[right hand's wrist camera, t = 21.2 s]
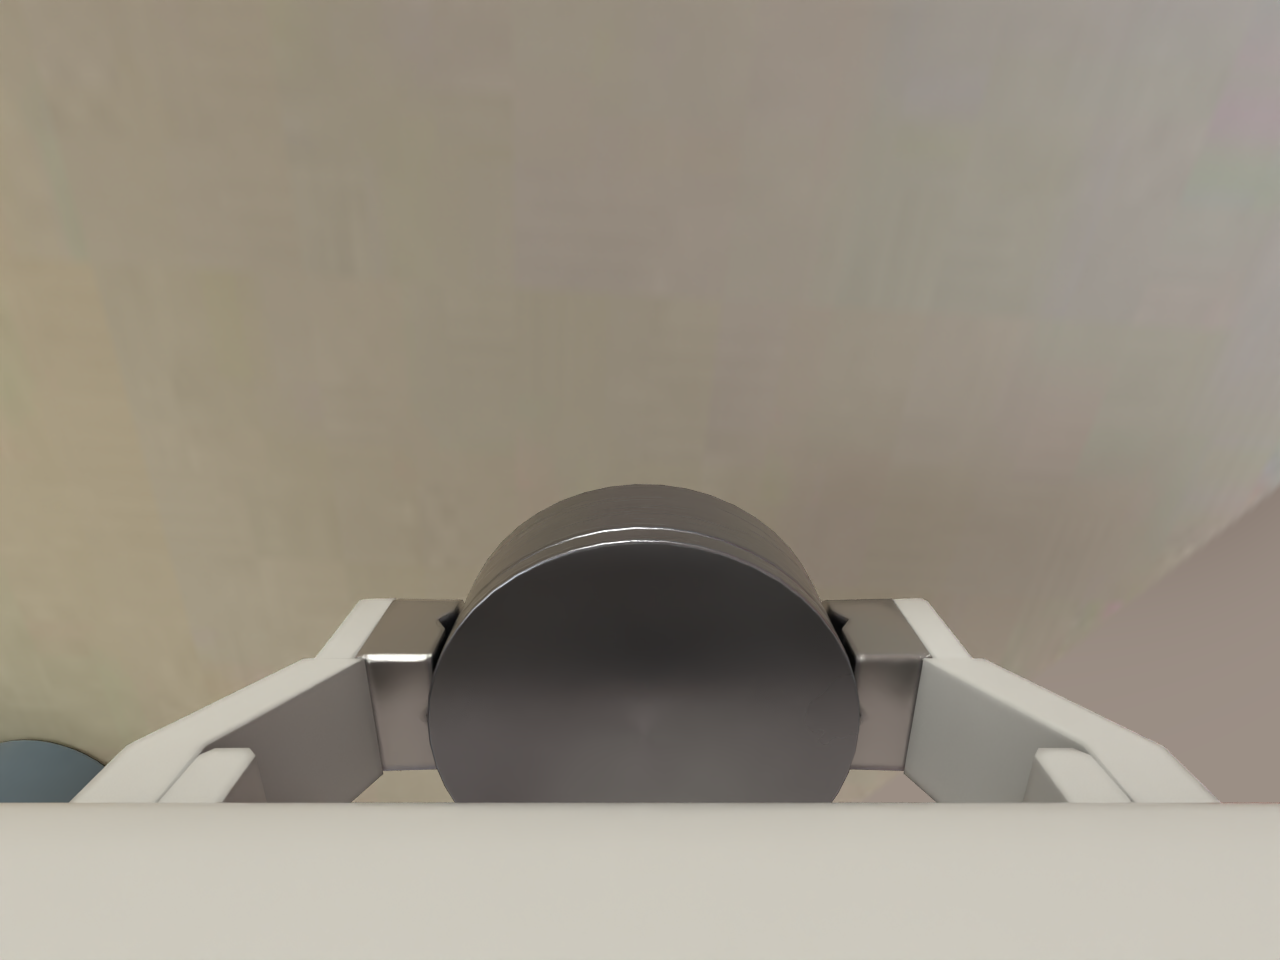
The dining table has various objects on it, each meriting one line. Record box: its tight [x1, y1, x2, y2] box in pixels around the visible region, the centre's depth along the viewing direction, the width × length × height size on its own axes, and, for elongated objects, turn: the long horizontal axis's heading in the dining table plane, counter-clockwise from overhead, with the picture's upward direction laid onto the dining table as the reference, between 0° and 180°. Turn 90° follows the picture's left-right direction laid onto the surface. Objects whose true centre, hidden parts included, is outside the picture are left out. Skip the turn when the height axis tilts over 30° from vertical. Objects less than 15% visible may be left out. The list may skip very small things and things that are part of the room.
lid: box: [427, 484, 860, 803], centre depth 9 cm, size 5×5×2 cm
